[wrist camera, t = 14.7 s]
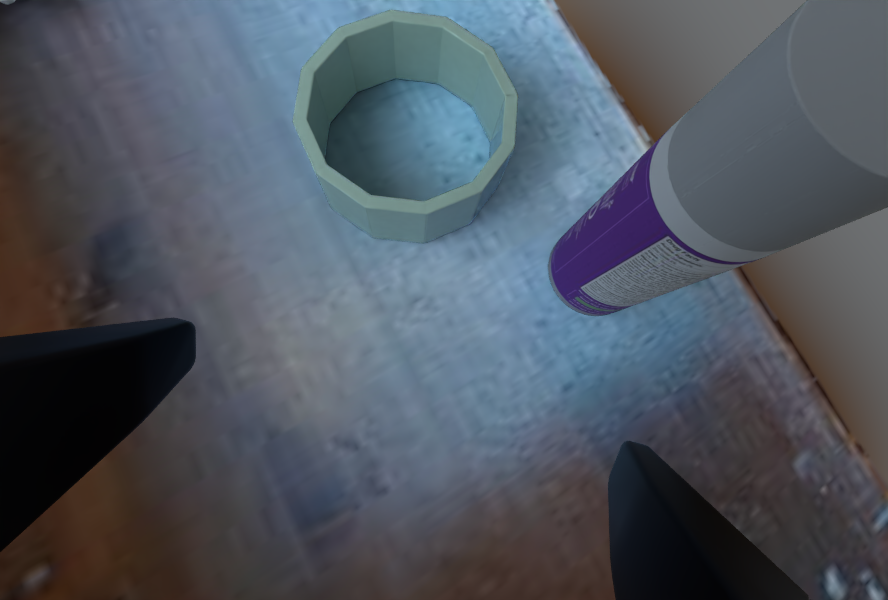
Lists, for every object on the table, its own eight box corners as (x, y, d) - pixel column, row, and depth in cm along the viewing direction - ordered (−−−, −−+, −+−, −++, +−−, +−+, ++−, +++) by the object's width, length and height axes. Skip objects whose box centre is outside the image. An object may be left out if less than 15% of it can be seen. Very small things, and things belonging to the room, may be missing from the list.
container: (557, 216, 24) (794, -60, 9) (644, 240, 24) (1018, 4, 9) (539, 302, 23) (768, 151, 8) (629, 327, 23) (1017, 219, 8)
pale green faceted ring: (530, 198, 24) (554, 161, 20) (359, 271, 23) (347, 246, 19) (452, 47, 25) (460, -15, 21) (286, 107, 24) (261, 52, 20)
